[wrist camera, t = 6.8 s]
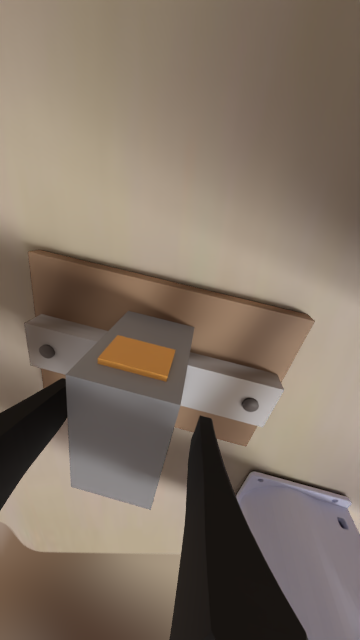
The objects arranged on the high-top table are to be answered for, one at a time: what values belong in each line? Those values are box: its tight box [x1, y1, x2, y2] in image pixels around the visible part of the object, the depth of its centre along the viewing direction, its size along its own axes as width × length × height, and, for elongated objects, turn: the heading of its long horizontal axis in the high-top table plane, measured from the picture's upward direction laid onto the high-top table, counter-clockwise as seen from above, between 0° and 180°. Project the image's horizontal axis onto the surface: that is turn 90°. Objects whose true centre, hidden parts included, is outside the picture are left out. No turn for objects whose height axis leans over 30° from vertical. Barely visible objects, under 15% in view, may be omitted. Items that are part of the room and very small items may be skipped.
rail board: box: [24, 250, 315, 446], centre depth 15 cm, size 18×12×3 cm, turn 78°
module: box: [66, 311, 195, 510], centre depth 12 cm, size 4×8×6 cm, turn 168°
